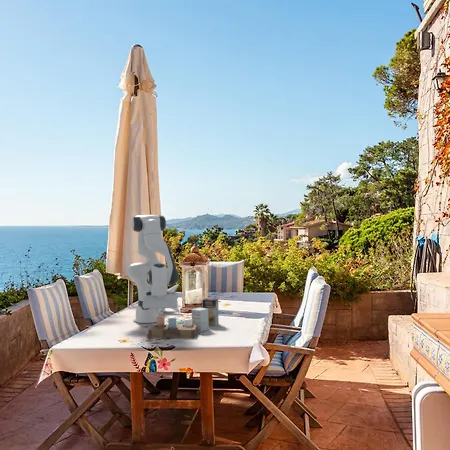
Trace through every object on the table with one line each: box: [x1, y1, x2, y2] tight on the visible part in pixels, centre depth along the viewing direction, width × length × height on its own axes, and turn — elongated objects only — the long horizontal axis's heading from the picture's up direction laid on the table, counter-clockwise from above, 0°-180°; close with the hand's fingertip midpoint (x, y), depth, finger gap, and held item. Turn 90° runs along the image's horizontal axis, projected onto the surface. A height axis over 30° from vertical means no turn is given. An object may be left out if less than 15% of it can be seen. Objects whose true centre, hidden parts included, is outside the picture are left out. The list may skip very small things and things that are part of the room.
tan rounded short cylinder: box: [156, 315, 166, 327], centre depth 289 cm, size 5×5×6 cm
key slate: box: [167, 317, 178, 330], centre depth 281 cm, size 5×5×6 cm
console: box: [147, 324, 199, 339], centre depth 285 cm, size 15×26×4 cm, turn 87°
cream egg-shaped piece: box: [183, 318, 192, 327], centre depth 288 cm, size 5×5×6 cm
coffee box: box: [201, 298, 220, 327], centre depth 312 cm, size 9×6×16 cm
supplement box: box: [191, 307, 210, 333], centre depth 297 cm, size 7×7×13 cm
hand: (160, 315), depth 288 cm, fingers closed
